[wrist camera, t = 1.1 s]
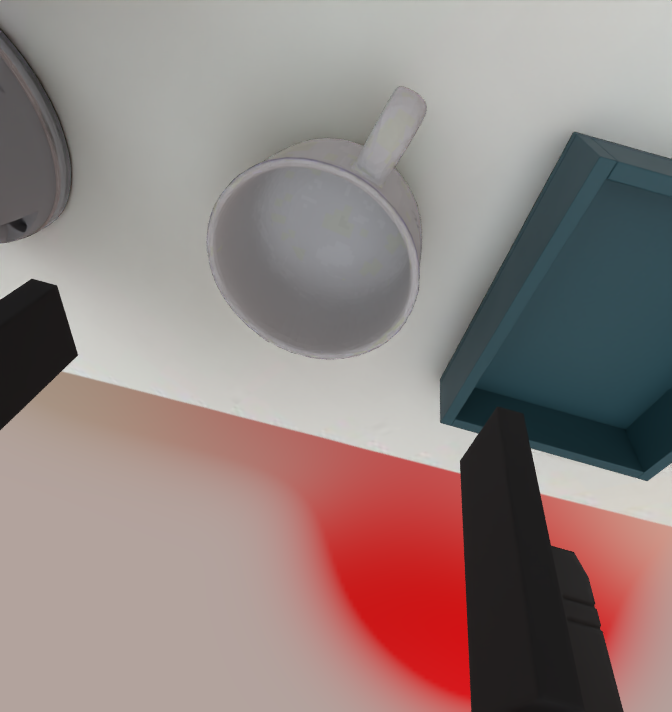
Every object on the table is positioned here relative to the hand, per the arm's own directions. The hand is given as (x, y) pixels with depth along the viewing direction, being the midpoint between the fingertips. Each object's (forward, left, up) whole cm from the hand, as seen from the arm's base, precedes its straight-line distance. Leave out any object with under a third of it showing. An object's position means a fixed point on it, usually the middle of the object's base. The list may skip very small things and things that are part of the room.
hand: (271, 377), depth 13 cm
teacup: (0, 0, -17) cm, 17 cm away
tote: (+18, -3, -17) cm, 25 cm away
